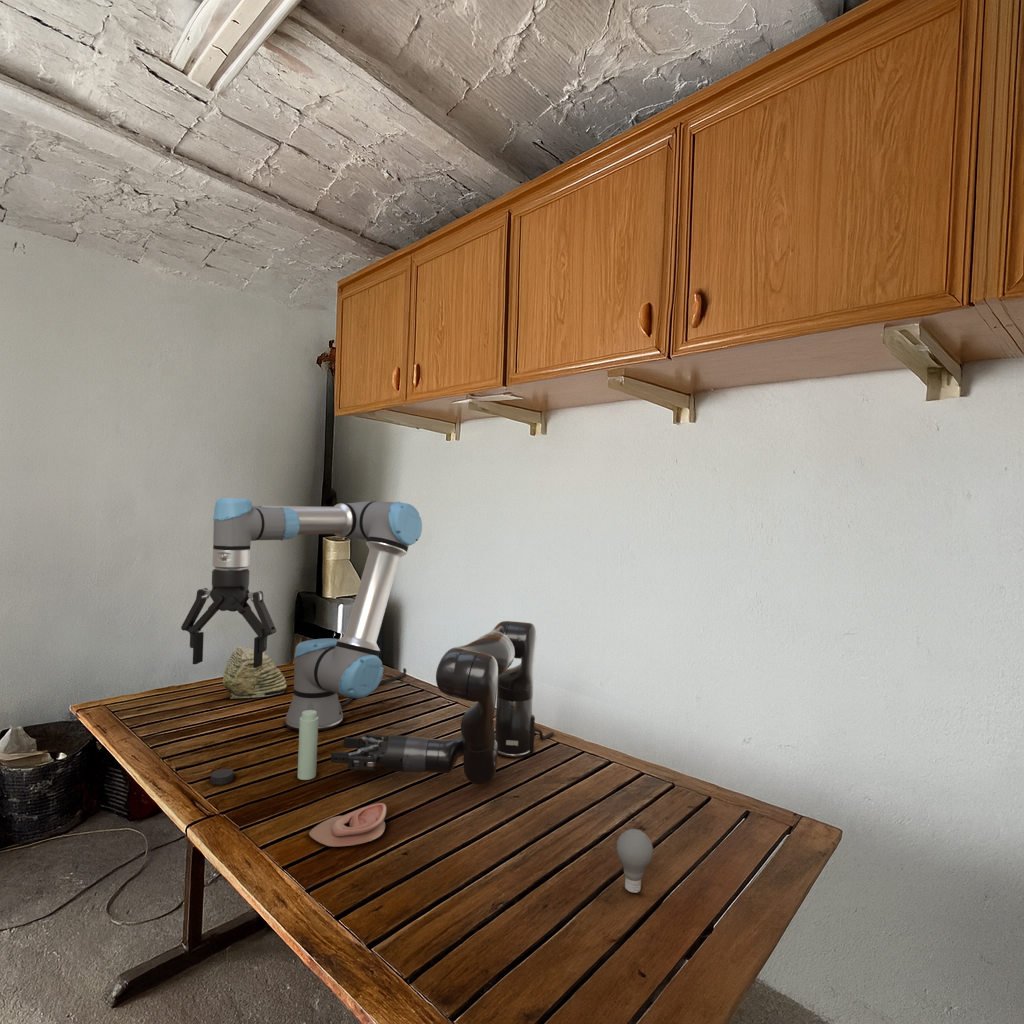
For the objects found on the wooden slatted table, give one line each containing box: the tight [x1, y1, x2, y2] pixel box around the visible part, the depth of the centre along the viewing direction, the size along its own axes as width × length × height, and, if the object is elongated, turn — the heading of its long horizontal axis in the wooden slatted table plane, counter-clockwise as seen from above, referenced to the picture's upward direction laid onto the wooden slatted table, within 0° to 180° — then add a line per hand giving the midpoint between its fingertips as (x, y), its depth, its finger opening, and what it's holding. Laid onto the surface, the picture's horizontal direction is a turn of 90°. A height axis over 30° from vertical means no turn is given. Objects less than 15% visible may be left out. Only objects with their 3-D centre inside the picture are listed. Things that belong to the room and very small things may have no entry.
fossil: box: [222, 646, 288, 699], centre depth 198 cm, size 9×18×15 cm, turn 132°
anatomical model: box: [308, 802, 387, 848], centre depth 120 cm, size 13×4×12 cm
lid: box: [209, 768, 235, 786], centre depth 139 cm, size 5×5×2 cm
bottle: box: [297, 710, 319, 781], centre depth 143 cm, size 4×4×15 cm
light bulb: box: [615, 828, 654, 894], centre depth 106 cm, size 6×6×10 cm
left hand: (227, 664), depth 139 cm, fingers open, 13 cm apart
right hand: (337, 749), depth 143 cm, fingers open, 8 cm apart
